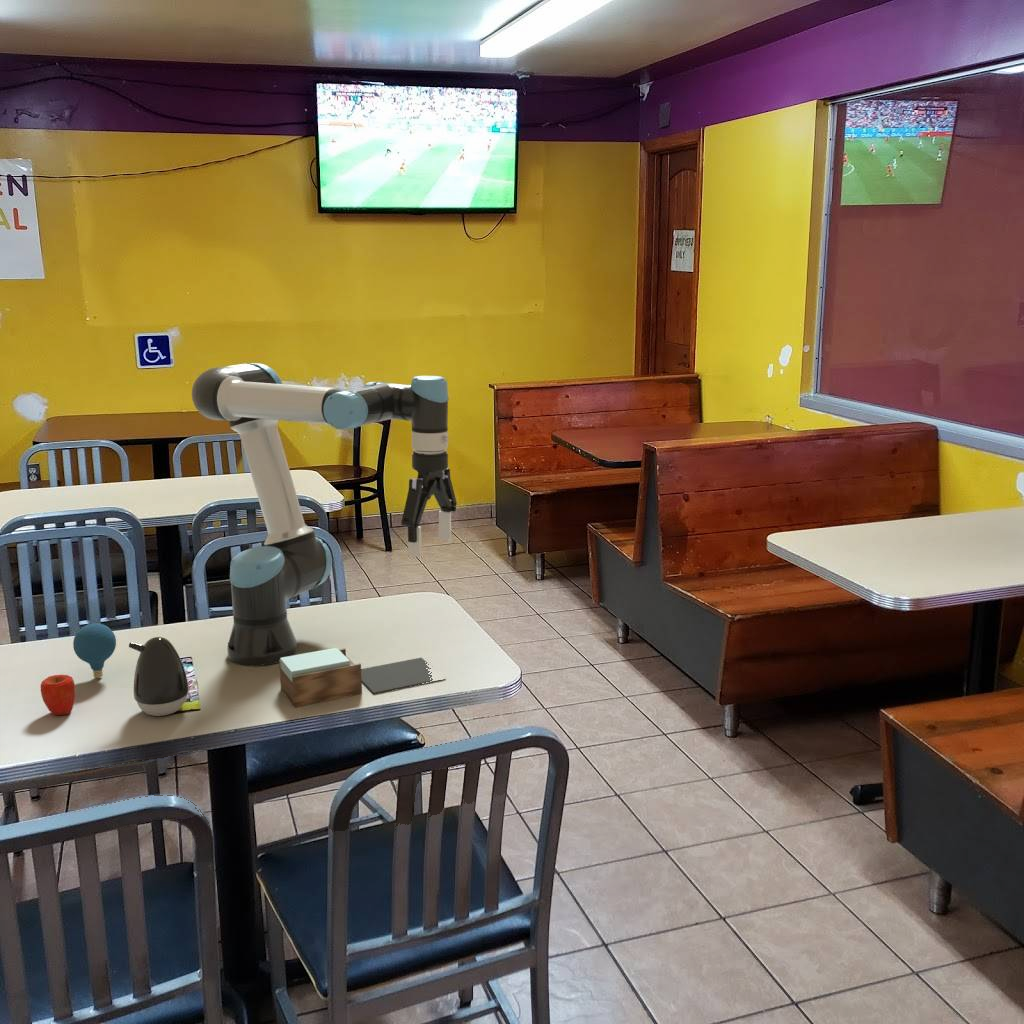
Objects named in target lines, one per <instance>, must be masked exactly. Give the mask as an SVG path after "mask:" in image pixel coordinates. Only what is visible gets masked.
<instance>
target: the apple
mask: <svg viewBox="0 0 1024 1024" xmlns="http://www.w3.org/2000/svg"><path fill="white" fill-rule="evenodd" d="M40 683H41V684H40V694H41V697H42V701H43V703H44V704H45V707H46V708H47V709H48V711H49V712H50V713H51V714H53V715H55V716H63V715H67V714H69V713H71V712H72V710H73V709H74V703H75V697H76V696H75V695H76V684H75V681H74V678H73V677H72V676H71V675H68V674H54V675H50V676H48V677H46V678H44V679H43V680H42V681H41V682H40Z"/></svg>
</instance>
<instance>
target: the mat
mask: <svg viewBox="0 0 1024 1024" xmlns="http://www.w3.org/2000/svg"><path fill="white" fill-rule="evenodd" d="M425 662H426V663H425ZM427 663H428V662H427V661H426V660H425V659H424V658H423V657H417V658H411V659H407V660H402V661H396V662H391V663H387V664H381V665H376V666H370V667H365V668H361V678H362V685H364V686H365V687H366V688H367V689H368V690H369V691H370V693H372V694H373V695H377V694H383V693H387V692H392V690H393V691H397V690H396V689H398V690H403V689H406V687H407V688H411V687H410V686H412V687H415V686H414V685H417V686H419V685H418V684H422V683H426V682H430V681H432V680H433V679H432V678H431V677H432V675H430V674H431V673H432V672H431V673H430V674H428V673H429V672H430V671H428V669H431V668H429V667H428V666H427V665H426V664H427ZM429 664H430V663H429ZM429 664H428V665H429ZM426 668H428V669H426ZM429 676H430V677H429ZM430 678H431V680H430ZM422 685H423V684H422ZM402 688H403V689H402Z"/></svg>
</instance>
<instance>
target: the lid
mask: <svg viewBox="0 0 1024 1024" xmlns="http://www.w3.org/2000/svg"><path fill="white" fill-rule="evenodd" d="M339 649H340V648H338V647H333V648H328V649H322V650H317V651H312V652H311V651H309V652H305V653H299V654H295V655H293V656H288V657H282V658H280V665H281V669H282V670H283V671H284V673H285V674H286V675H287V676H288V678H289V679H290V680H291V681H292V676H295V675H300V674H306V673H311V672H316V671H321V670H327V669H332V668H337V667H343V666H348V665H350V660H351V659H350V658H349V657H348V656H347V655H346V656H347V657H348V658H349V659H350V660H349V659H348V658H347V657H346V656H345V655H344V654H343V653H342V652H341V651H340V650H339ZM292 682H293V681H292Z"/></svg>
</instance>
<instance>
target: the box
mask: <svg viewBox="0 0 1024 1024" xmlns="http://www.w3.org/2000/svg"><path fill="white" fill-rule="evenodd" d="M338 649H339V650H340V651H341V652H342V653H343V654H344V655H345V656H346V657H347V658H348V659H349V660H350V665H348V666H343V667H337V668H332V669H327V670H321V671H316V672H311V673H306V674H300V675H295V676H292V681H293V682H292V681H291V680H290V679H289V678H288V676H287V675H286V674H285V673H284V671H283V670H282V669H281V665H280V660H279V662H278V664H279V679H280V682H279V683H280V690H281V691H282V693H283V694H284V695H285V696H286V698H287V699H288V700H289V702H290V703H291V704H292V706H293V707H294V708H298V707H303V706H308V705H313V704H318V703H322V702H327V701H333V700H338V699H342V698H347V697H352V696H357V695H362V694H363V683H362V678H361V669H362V663H355V662H353V661H352V660H351V659H350V658H349V657H348V656H347V652H346V651H347V649H346V648H338Z"/></svg>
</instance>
